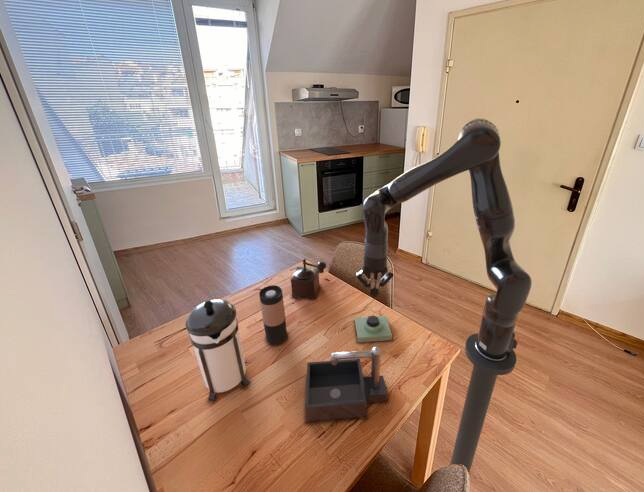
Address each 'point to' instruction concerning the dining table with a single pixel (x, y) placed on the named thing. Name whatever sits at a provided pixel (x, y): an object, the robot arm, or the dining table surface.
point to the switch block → (372, 330)
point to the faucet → (373, 354)
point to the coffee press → (217, 345)
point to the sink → (339, 391)
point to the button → (373, 321)
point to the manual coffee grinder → (307, 280)
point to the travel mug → (273, 314)
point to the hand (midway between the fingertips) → (373, 295)
